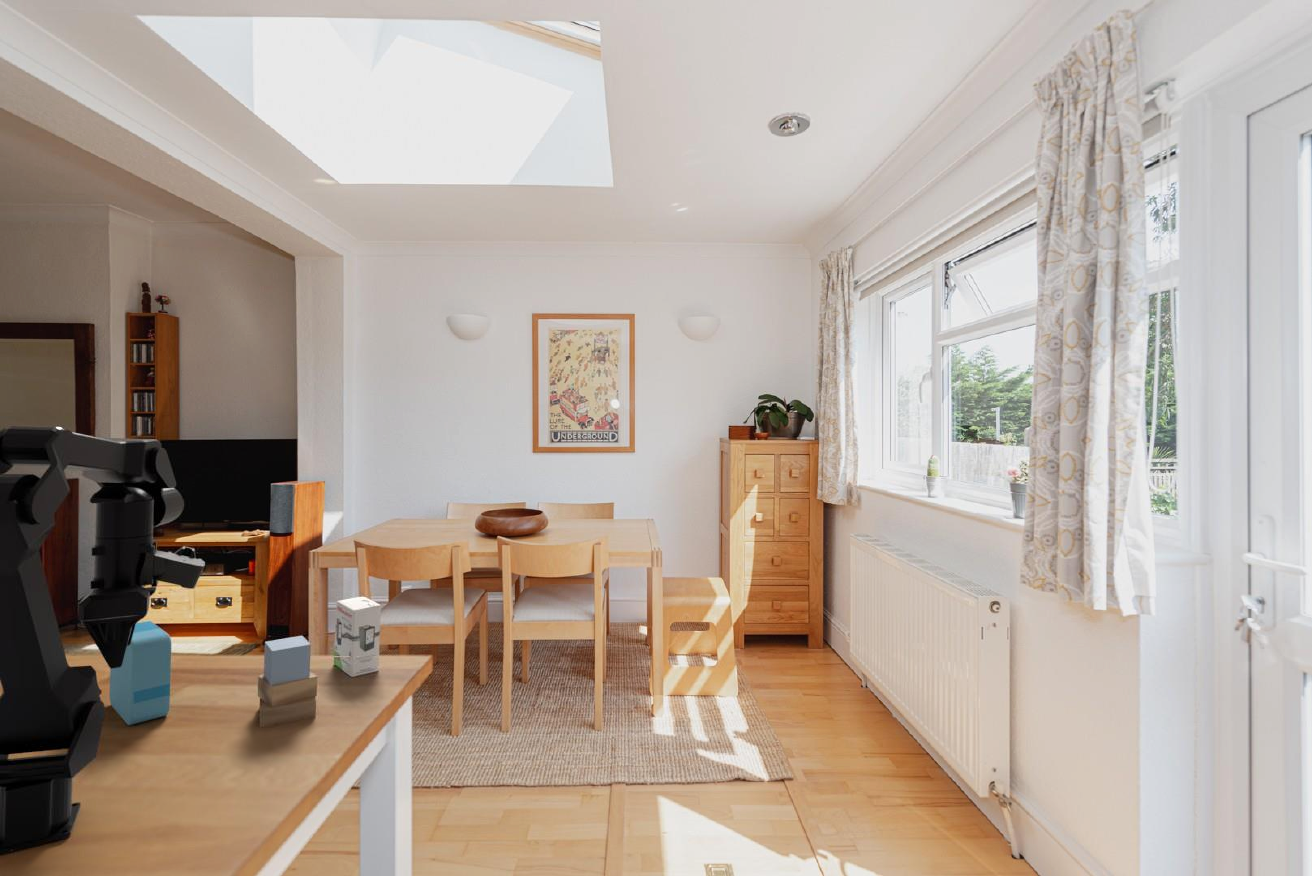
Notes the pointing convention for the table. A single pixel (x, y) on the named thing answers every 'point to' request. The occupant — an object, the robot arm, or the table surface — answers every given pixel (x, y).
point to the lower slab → (287, 712)
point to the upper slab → (287, 691)
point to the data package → (143, 676)
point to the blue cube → (287, 660)
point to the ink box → (357, 635)
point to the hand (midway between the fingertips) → (120, 656)
